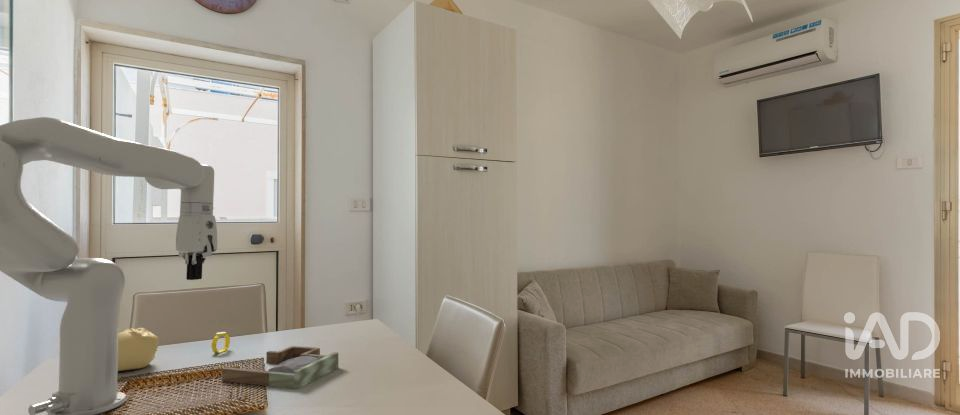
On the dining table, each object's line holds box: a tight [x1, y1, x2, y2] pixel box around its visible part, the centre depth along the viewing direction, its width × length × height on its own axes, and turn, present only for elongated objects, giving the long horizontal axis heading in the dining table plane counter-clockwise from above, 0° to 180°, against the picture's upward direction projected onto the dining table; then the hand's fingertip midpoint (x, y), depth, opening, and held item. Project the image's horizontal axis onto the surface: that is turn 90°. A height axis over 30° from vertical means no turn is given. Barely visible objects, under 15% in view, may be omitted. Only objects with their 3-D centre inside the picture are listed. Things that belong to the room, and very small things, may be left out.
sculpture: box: [118, 327, 160, 372], centre depth 124 cm, size 11×12×11 cm
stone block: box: [267, 356, 321, 373], centre depth 117 cm, size 12×5×10 cm
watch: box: [211, 331, 231, 354], centre depth 139 cm, size 6×3×6 cm, turn 169°
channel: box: [221, 345, 339, 390], centre depth 121 cm, size 22×22×4 cm
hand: (194, 279), depth 121 cm, fingers closed
